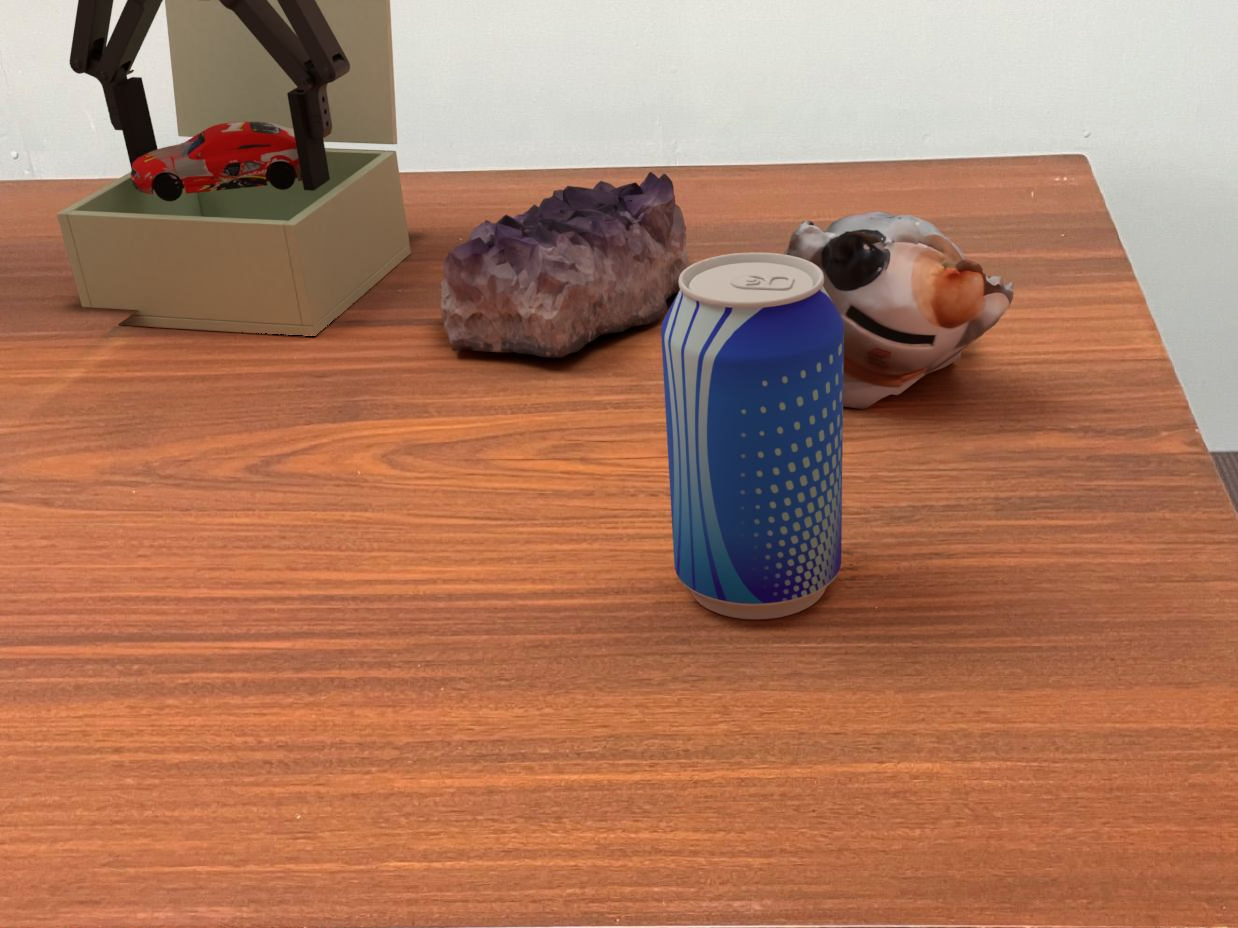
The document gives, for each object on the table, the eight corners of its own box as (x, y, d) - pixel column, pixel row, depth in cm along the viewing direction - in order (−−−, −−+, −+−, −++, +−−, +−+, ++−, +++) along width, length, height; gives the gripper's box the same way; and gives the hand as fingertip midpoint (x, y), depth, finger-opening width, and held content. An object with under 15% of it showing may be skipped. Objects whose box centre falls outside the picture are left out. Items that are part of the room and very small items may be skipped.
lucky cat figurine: (968, 334, 108) (1045, 176, 96) (947, 471, 102) (1026, 319, 90) (754, 270, 107) (805, 101, 95) (720, 405, 101) (770, 242, 89)
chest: (315, 337, 111) (294, 224, 107) (85, 323, 114) (56, 213, 110) (411, 253, 125) (396, 150, 121) (204, 243, 128) (182, 142, 124)
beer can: (750, 647, 77) (742, 324, 68) (642, 583, 82) (620, 276, 73) (875, 586, 81) (883, 275, 72) (764, 529, 87) (758, 233, 77)
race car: (134, 207, 112) (119, 148, 110) (136, 184, 116) (122, 127, 114) (326, 187, 115) (316, 129, 112) (322, 166, 119) (312, 109, 117)
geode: (602, 264, 122) (610, 130, 116) (724, 313, 117) (738, 176, 111) (407, 339, 108) (404, 191, 102) (536, 398, 104) (540, 247, 98)
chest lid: (378, -136, 113) (383, -134, 114) (150, -136, 116) (156, -135, 117) (393, 144, 120) (397, 144, 121) (178, 136, 123) (183, 136, 124)
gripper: (367, -167, 104) (412, 173, 116) (24, -169, 108) (104, 158, 120) (317, -152, 98) (371, 204, 110) (-43, -155, 102) (48, 188, 115)
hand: (232, 181), depth 115 cm, fingers open, 12 cm apart
